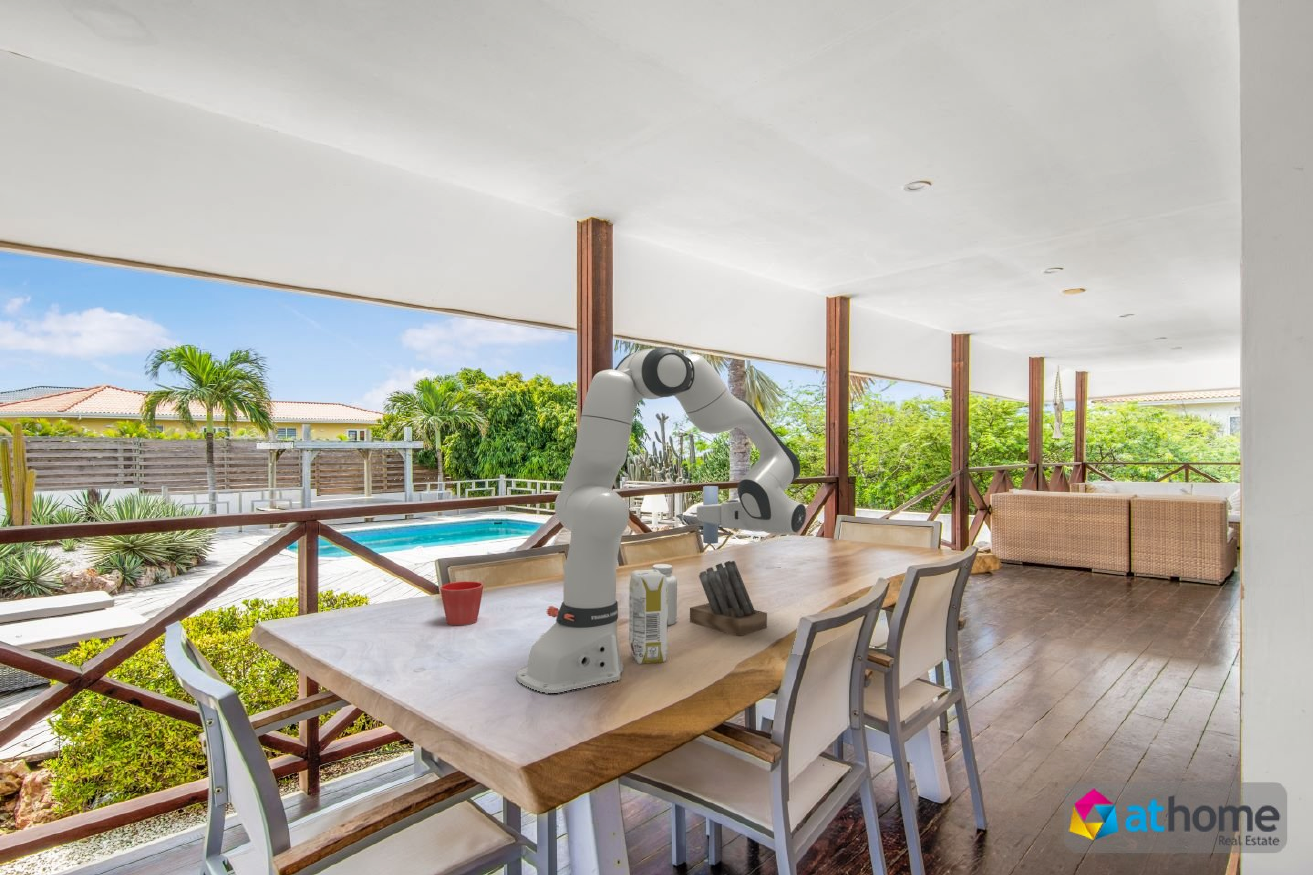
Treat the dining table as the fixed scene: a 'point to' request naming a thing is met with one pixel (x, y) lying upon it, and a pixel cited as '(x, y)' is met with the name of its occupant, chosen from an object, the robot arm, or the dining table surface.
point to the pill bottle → (669, 590)
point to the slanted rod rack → (727, 603)
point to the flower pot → (461, 602)
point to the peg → (708, 529)
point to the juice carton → (648, 616)
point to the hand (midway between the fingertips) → (708, 508)
